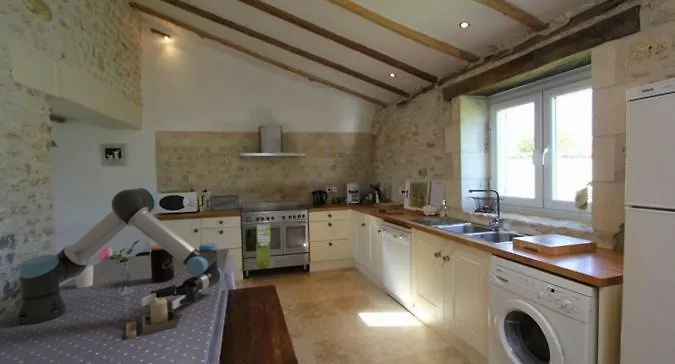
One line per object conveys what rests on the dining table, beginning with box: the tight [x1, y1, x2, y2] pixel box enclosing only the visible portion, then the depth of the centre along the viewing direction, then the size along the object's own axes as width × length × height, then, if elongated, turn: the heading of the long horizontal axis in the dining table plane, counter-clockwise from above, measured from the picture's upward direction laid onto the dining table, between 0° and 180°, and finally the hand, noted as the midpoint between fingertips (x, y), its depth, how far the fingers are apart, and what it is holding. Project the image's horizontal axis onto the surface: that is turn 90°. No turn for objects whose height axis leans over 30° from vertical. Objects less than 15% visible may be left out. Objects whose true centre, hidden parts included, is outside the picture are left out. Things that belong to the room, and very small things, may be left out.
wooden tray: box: [141, 309, 178, 335], centre depth 127 cm, size 11×11×2 cm
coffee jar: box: [150, 244, 175, 283], centre depth 182 cm, size 11×11×18 cm
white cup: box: [74, 264, 94, 289], centre depth 175 cm, size 8×8×10 cm
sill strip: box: [125, 320, 137, 340], centre depth 123 cm, size 3×12×1 cm, turn 31°
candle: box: [149, 297, 169, 325], centre depth 127 cm, size 6×6×10 cm
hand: (157, 304), depth 126 cm, fingers open, 13 cm apart
